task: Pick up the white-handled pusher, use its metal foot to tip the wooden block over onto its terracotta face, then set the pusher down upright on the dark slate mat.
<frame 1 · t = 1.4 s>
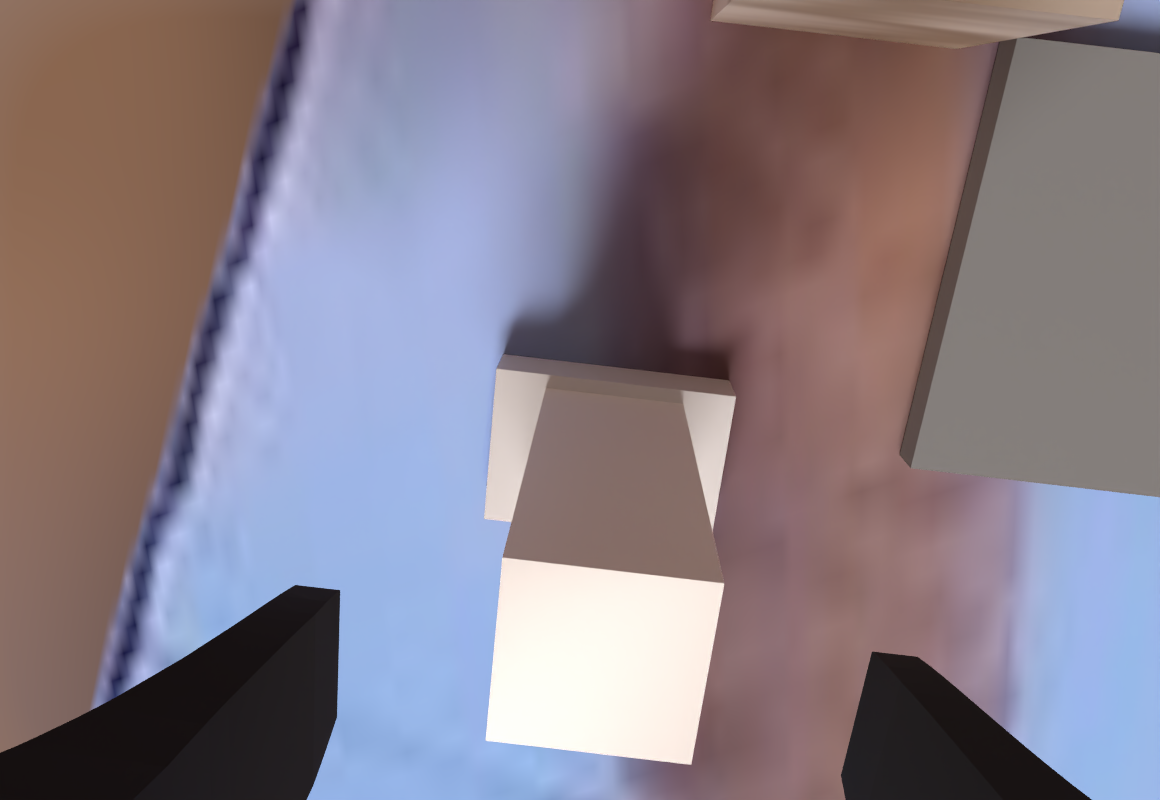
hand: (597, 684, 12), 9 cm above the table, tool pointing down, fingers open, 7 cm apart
slate mat: (1139, 285, 19), on the table
pusher: (606, 440, 21), on the table
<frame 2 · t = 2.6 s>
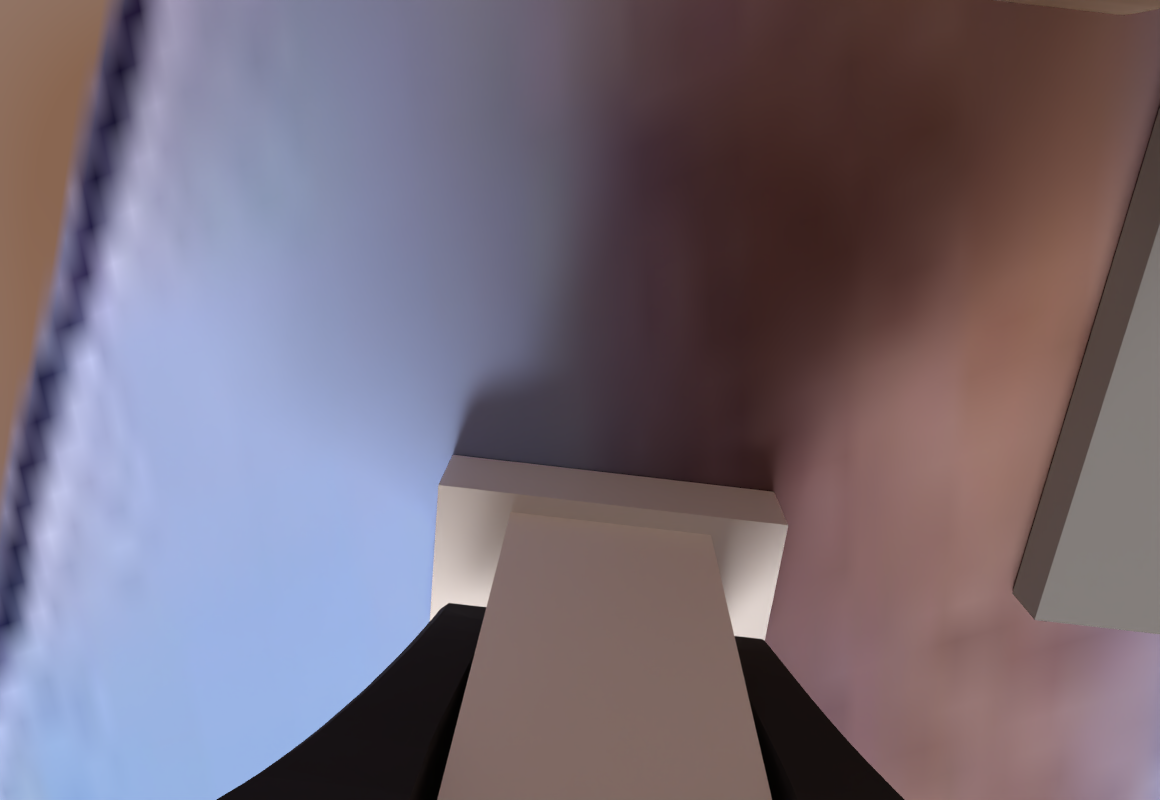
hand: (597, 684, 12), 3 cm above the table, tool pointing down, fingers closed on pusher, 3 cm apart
pusher: (600, 571, 15), on the table, touching gripper
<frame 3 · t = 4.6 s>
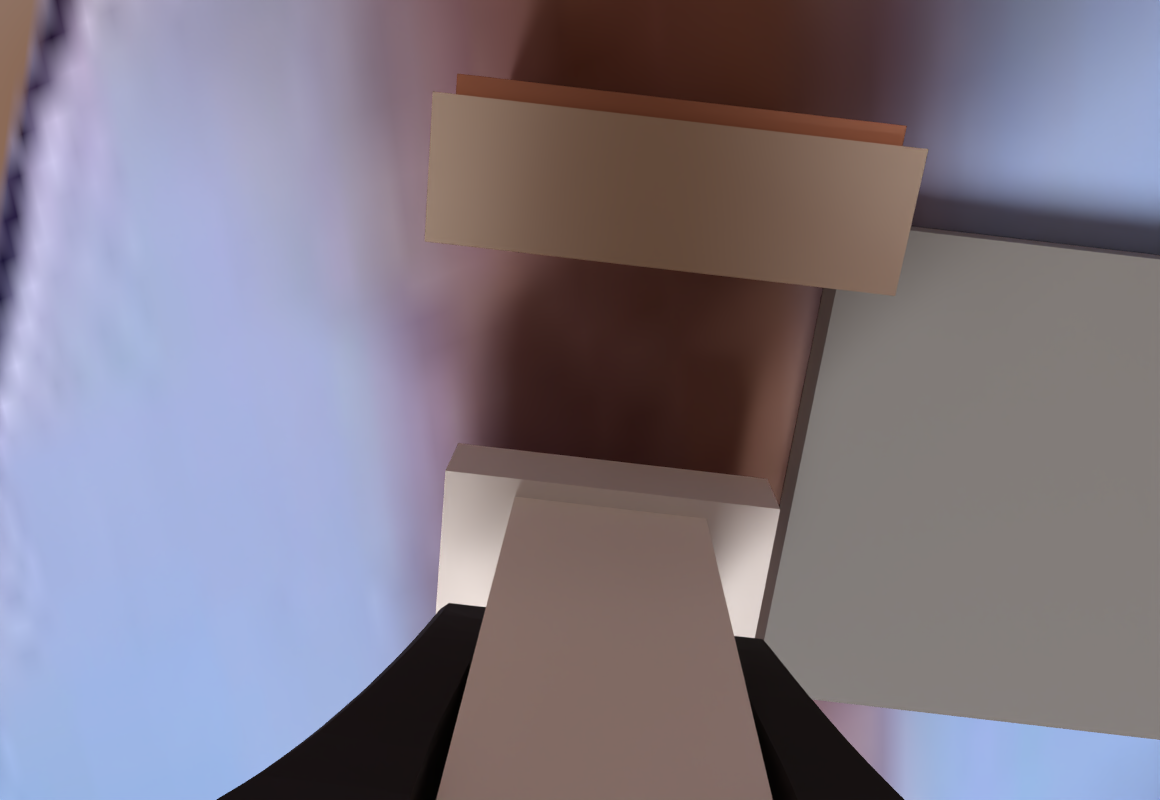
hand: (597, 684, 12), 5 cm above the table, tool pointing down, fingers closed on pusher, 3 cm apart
slate mat: (1013, 488, 16), on the table
pusher: (600, 556, 15), point 2 cm above the table, touching gripper
wooden block: (647, 164, 15), on the table
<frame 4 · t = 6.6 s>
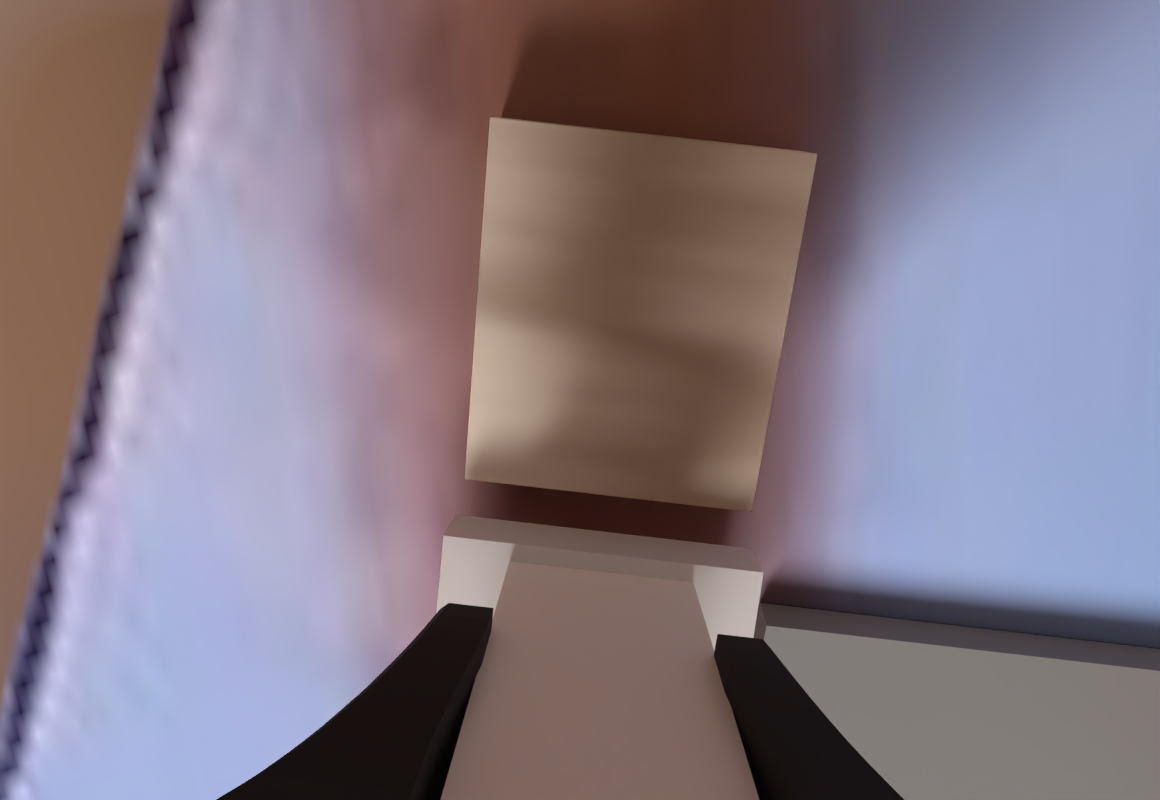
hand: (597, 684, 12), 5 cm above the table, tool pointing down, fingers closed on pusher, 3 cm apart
pusher: (591, 628, 16), point 2 cm above the table, tilted 9°, touching gripper
wooden block: (608, 478, 16), point 1 cm above the table, tilted 90°
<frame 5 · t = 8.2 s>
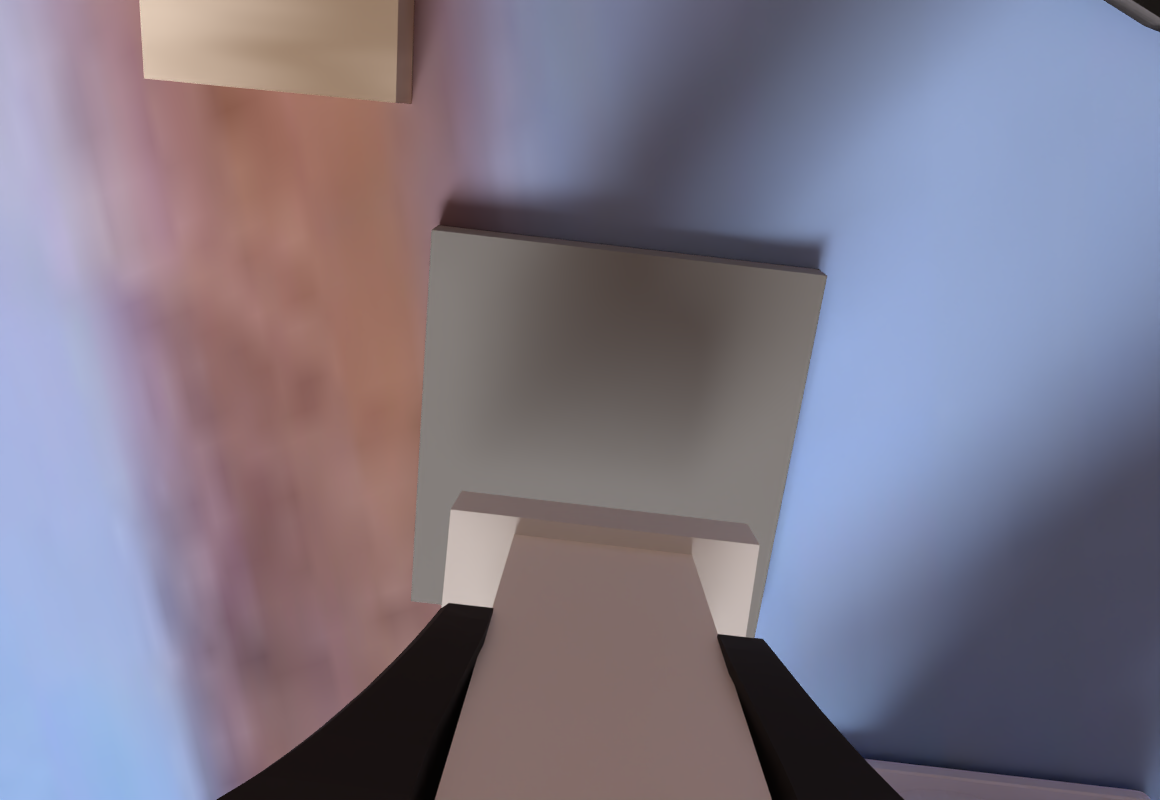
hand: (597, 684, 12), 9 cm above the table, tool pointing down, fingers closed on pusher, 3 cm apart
slate mat: (604, 437, 21), on the table
pusher: (592, 601, 16), point 5 cm above the table, tilted 9°, touching gripper
wooden block: (283, 91, 18), point 1 cm above the table, tilted 90°
when the fingers open (5 cm above the table, at t = 9.2 s): pusher stays where it is, resting on slate mat.
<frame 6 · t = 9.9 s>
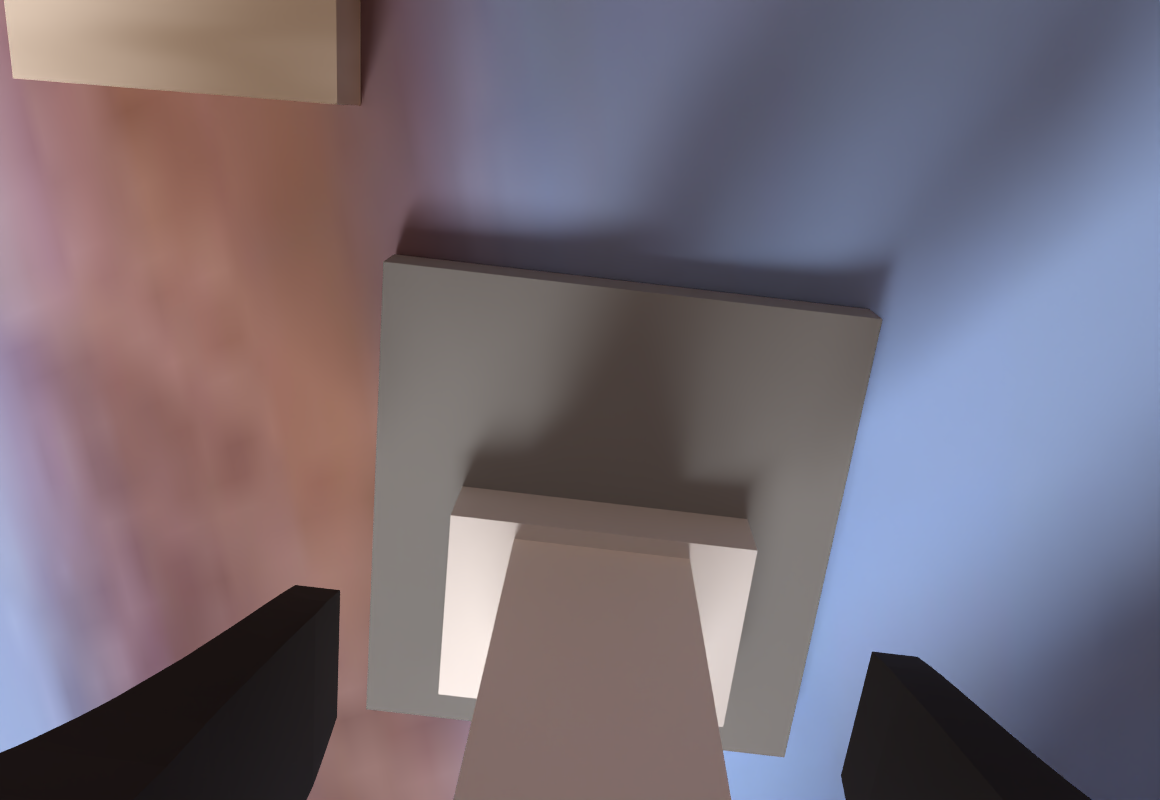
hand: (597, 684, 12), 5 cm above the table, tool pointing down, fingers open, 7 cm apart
slate mat: (602, 512, 17), on the table
pusher: (593, 589, 16), point 1 cm above the table, touching slate mat
wooden block: (196, 92, 14), point 1 cm above the table, tilted 90°
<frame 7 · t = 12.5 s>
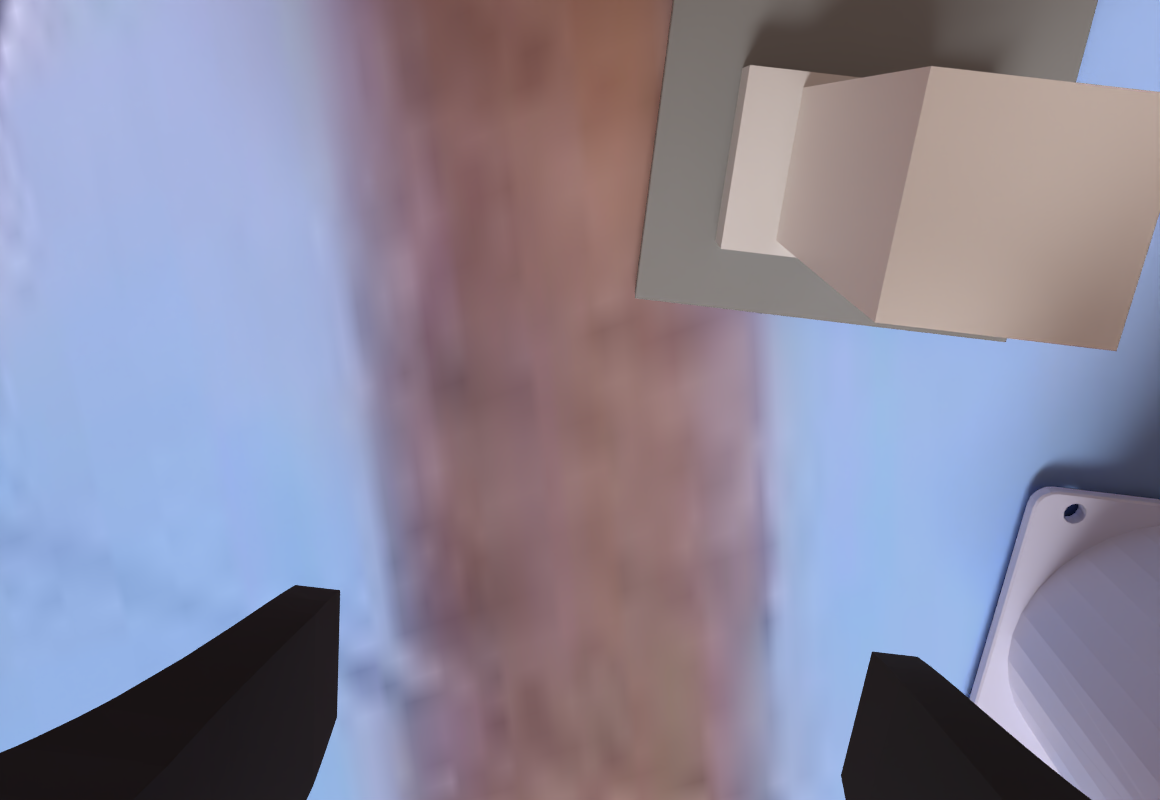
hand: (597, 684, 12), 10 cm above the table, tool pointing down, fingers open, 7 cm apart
slate mat: (852, 111, 19), on the table
pusher: (849, 171, 19), point 1 cm above the table, touching slate mat
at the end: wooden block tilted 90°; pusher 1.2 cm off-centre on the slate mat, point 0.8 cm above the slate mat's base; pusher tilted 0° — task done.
